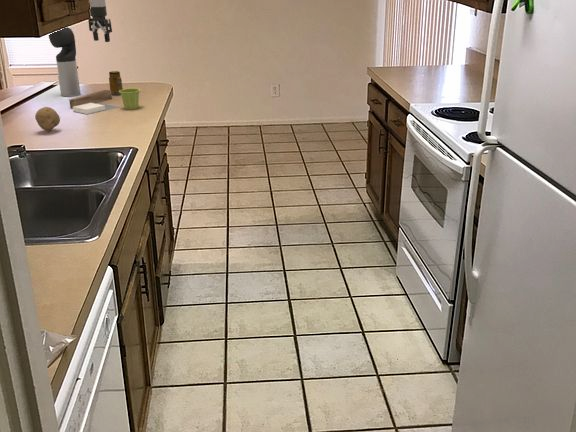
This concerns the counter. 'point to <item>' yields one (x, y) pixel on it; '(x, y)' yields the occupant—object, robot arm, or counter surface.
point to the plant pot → (130, 98)
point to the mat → (107, 107)
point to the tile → (89, 108)
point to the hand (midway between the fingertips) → (101, 41)
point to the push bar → (91, 98)
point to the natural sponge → (47, 118)
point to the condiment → (115, 83)
